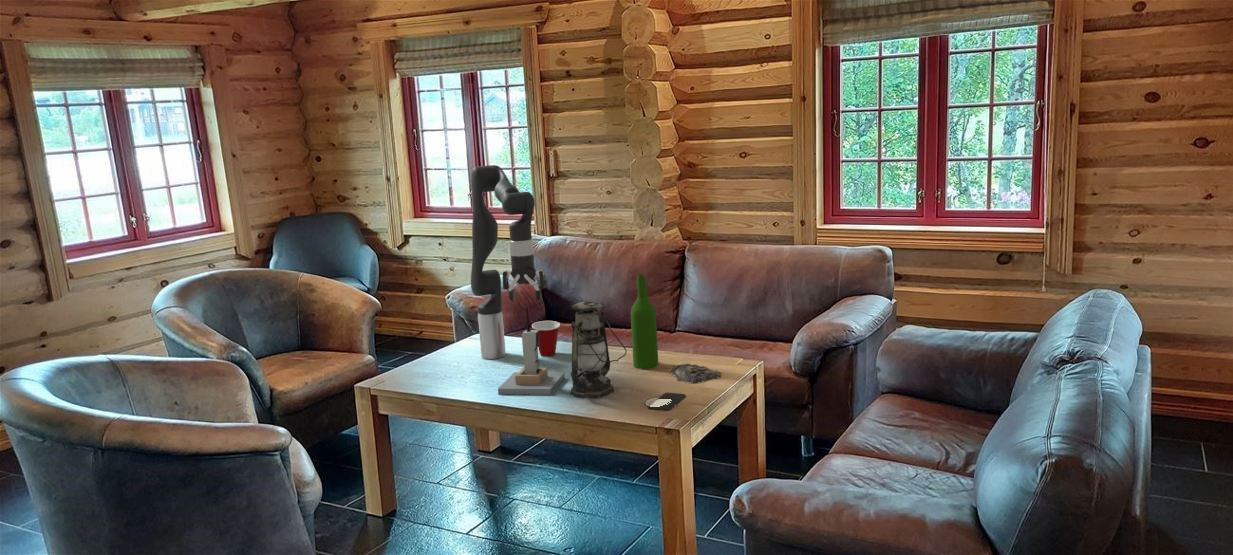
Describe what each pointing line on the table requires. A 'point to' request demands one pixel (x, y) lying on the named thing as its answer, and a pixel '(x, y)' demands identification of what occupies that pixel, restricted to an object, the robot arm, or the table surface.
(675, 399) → the phone
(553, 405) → the table surface
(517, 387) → the square socket base
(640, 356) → the wine bottle
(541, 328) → the plastic cup
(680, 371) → the geode
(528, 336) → the vintage mobile phone
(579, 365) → the lantern
